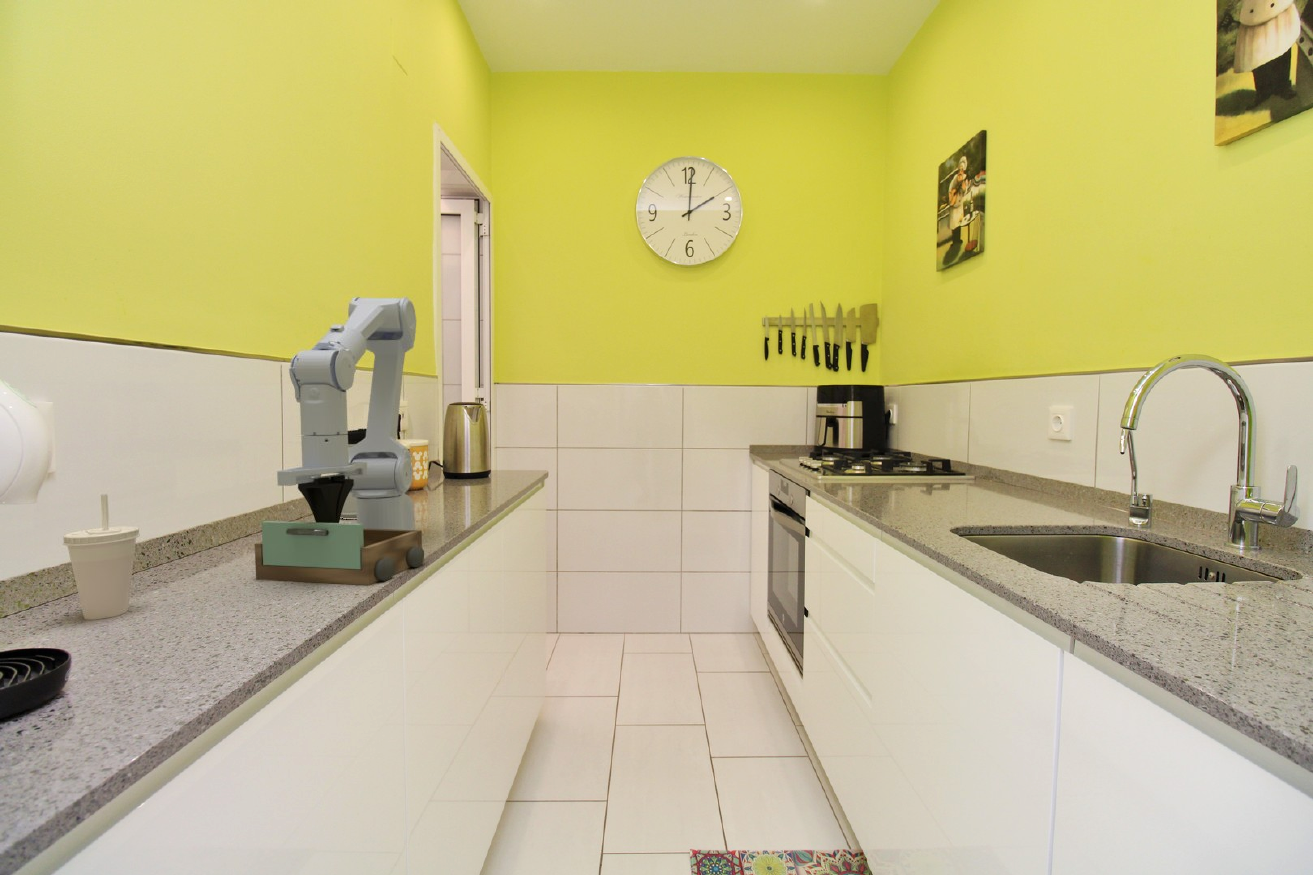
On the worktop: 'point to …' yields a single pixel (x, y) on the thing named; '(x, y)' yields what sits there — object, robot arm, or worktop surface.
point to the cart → (379, 560)
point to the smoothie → (103, 566)
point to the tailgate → (312, 544)
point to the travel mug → (350, 503)
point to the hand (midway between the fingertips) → (328, 530)
